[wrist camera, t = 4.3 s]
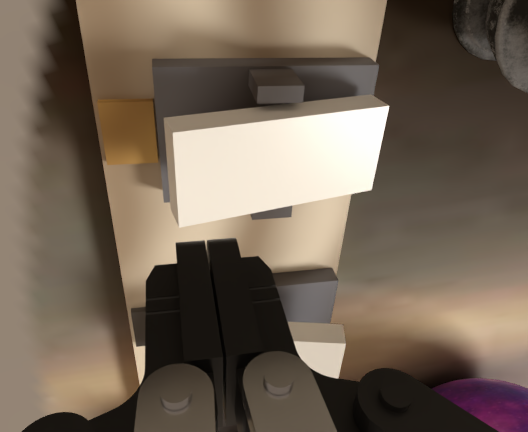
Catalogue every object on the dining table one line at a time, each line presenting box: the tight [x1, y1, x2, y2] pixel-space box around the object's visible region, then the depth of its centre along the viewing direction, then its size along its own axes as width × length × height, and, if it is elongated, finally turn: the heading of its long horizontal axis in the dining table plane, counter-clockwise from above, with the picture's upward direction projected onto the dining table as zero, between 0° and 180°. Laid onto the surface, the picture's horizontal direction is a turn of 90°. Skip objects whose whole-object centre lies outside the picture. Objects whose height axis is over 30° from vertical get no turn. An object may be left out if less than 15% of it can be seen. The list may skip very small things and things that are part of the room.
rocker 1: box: [164, 94, 389, 228], centre depth 17 cm, size 8×4×1 cm, turn 87°
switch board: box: [76, 0, 387, 432], centre depth 25 cm, size 11×33×4 cm, turn 177°
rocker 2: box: [288, 322, 346, 379], centre depth 23 cm, size 8×4×1 cm, turn 87°
